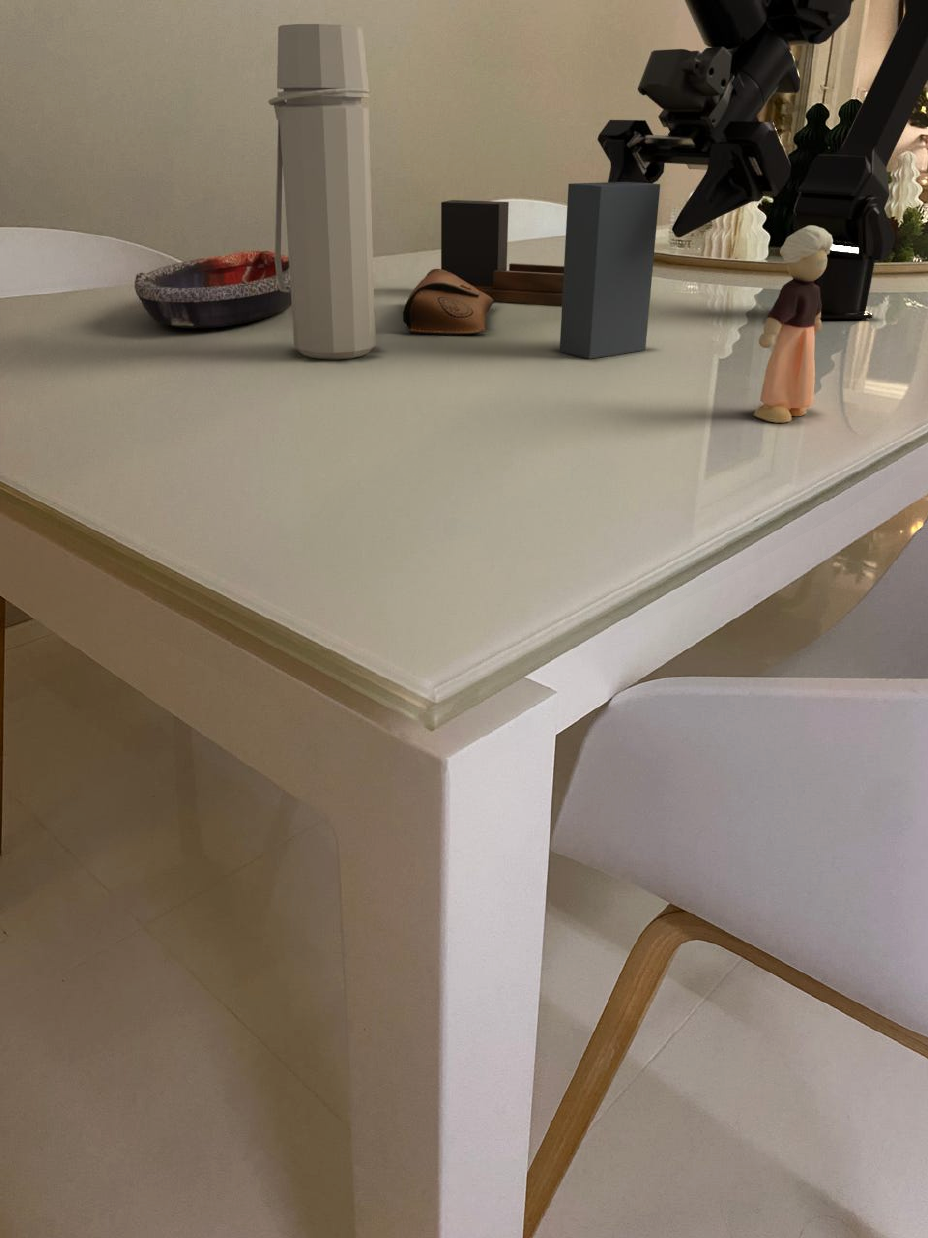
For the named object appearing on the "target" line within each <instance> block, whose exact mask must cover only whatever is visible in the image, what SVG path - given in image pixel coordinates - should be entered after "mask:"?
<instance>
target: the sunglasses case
mask: <svg viewBox="0 0 928 1238" xmlns="http://www.w3.org/2000/svg"><path fill="white" fill-rule="evenodd" d="M493 304H494V301H493V299H492V298H491V297H490V296H488V295H487V294H485V293H483V292H481V291H479V290H477V289H476V288H475V287H473V286H472V285H470V284H468V283H466V282H465V281H463V280H462V279H460V278H459V277H458V276H456V275H454V274H452V273H450V272H447V271H445V270H442V269H441V268H433V269H431V270H430V271H428V273H427V274H426V275H425V277H424V278H423V279H422V280H421V281H420V282H418V284H417V285H416V286H415V287H414V289H413V290H412V291H411V293H410V294H409V296H408V298H407V300H406V302H405V304H404V307H403V310H402V322H403V323H404V325H405V326H406V327H407V329H408V330H409V331H410V332H412V333H416V334H425V335H433V336H434V335H435V336H460V335H475V334H481V333H485V332H486V327H487V326H486V315H487V313H488V311H489V310H490V309H491V307H492V306H493Z"/></svg>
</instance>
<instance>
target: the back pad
mask: <svg viewBox="0 0 928 1238" xmlns="http://www.w3.org/2000/svg"><path fill="white" fill-rule="evenodd" d="M567 184H568V187H567V205H566V208H567V209H566V222H565V242H564V258H563V259H564V261H563V266H564V277H563V296H562V306H561V317H560V318H561V319H560V333H559V335H560V336H559V352H562V353H565V354H567V355H568V354H569V355H573V356H576V357H580V358H584V359H587V360H588V359H589V360H591V359H598V358H599V359H600V358H604V357H612V356H617V355H623V354H629V353H636V352H642V351H646V347H647V336H648V327H649V324H648V323H649V316H650V315H649V314H650V303H651V293H652V292H651V291H652V281H653V270H654V260H655V248H656V236H657V226H658V217H659V216H658V214H659V205H660V195H661V184H660V183H653V184H651V183H638V182H608V181H607V182H606V181H605V182H573V183H567Z"/></svg>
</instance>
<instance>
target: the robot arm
mask: <svg viewBox="0 0 928 1238" xmlns="http://www.w3.org/2000/svg"><path fill="white" fill-rule="evenodd" d="M854 1H855V0H684V3H685V5H686V6H687V9H688V11H689V13H690V15H691V19H692V21H693V22H694V24H695V27H696V28H697V32H698V33H699V36H700V37H701V39H702V42H703V44H704V45H705V46H706V48H705V49H703V51H702V52H701V51H699V50H688V49H685V48H672V49H670V48H669V49H656V50H655V49H654V50H652V51H651V52H650V55H649V57H648V60H647V63H646V64H645V68H644V70H643V73H642V75H641V78H640V81H639V84H638V86H637V91H638V93H639V94H640V95H641V96H646V97H647V98H649V99H650V100H651V101H652V102H653V103H655V104H656V105H657V106H658V107H660V108H661V109H662V110H661V112H660V113H659V115H658V117H657V118H658V119H659V121H660V123H661V125H662V127H663V128H667V129H668V131H669V132H668V133H667V135H663V134H662V135H661V134H660V135H659V134H658V135H656V134H654V133H653V131H652V129H651V128H650V126H649V124H648V122H647V121H646V120H645V119H609V120H608V122H607V123H606V125H605V126H604V127H603V128H602V130H601V131H600V133H599V134H598V136H597V141H598V144H599V145H600V147H601V148H602V150H603V152H604V154H605V155H606V158H607V159H608V161H609V164H610V169H609V175H608V179H607V182H638V183H651V184H655V183H656V182H658V181H659V180H660V178H661V177H662V175H663V174H664V172H665V164H674V165H675V164H676V165H686V166H687V168H688V169H689V170H701V171H702V170H703V171H706V172H705V174H704V175H703V176H702V178H701V180H700V181H699V183H698V184H697V185H696V187H695V189H694V191H693V192H692V194H690V196H689V198H688V200H687V201H686V203H685V204H684V206H683V207H682V209H681V210H680V212H679V213H678V216H677V217H676V220H675V221H674V223H673V225H672V227H671V231H672V233H673V235H674V237H675V238H679V239H680V238H682V237H685V236H687V235H688V234H690V233H691V232H694V231H696V230H698V229H699V228H701V227H703V226H705V225H707V224H708V223H711V222H712V221H715V220H717V219H718V218H720V217H722V216H724V215H727V214H729V213H731V212H733V211H735V210H737V209H740V208H741V207H743V206H746V205H748V204H750V203H753V202H755V203H757V202H760V201H762V200H763V198H764V196H765V197H767V196H768V197H777V196H778V194H779V193H780V192H781V190H782V189H783V187H784V186H785V185H786V183H787V182H788V180H789V179H790V176H791V169H792V165H791V162H790V160H789V157H788V155H787V153H786V150H785V148H784V145H783V143H782V141H781V138H780V136H779V133H778V131H777V129H776V127H775V124H774V122H773V121H760V120H759V117H758V116H759V115H760V113H761V112H762V111H763V109H764V108H765V106H766V105H767V104H768V102H769V101H770V99H771V98H772V97H773V95H774V94H797V93H798V92H799V91H800V89H801V77H800V74H799V65H800V63H799V60H798V59H795V58H794V55H793V52H792V49H791V47H790V46H809V45H821V44H823V43H825V42H827V41H828V40H829V39H830V38H832V36H833V35H834V34H835V33H836V32H837V30H838V29H840V27H841V26H842V25H843V24H844V23H845V22H846V21H847V20H848V19H849V17H850V15H851V11H852V5H853V3H854ZM903 7H904V13H903V17H902V18H901V21H900V23H899V25H898V28H897V30H896V32H895V34H894V35H893V38H892V40H891V42H890V44H889V47H888V48H887V51H886V52H885V55H884V56H883V59H882V61H881V64H880V65H879V68H878V70H877V72H876V74H875V76H874V78H873V80H872V83H871V85H870V87H869V89H868V91H867V93H866V95H865V97H864V99H863V101H862V104H861V106H860V107H859V110H858V112H857V113H856V116H855V118H854V121H853V123H852V124H851V127H850V128H849V131H848V133H847V135H846V138H845V140H844V141H843V143H842V144H841V147H840V148H839V149H838V150H837V151H836V152H835V153H833V154H817V155H816V156H815V157H814V159H813V160H812V161H811V162H810V166H809V169H808V171H807V174H806V177H805V178H804V180H803V181H802V184H801V185H800V186H799V187H798V188H797V193H799V195H798V196H797V199H796V202H795V204H794V207H793V214H792V215H793V229H794V231H793V232H794V233H795V232H797V231H798V230H800V229H803V228H804V227H807V226H817V227H820V228H823V229H825V230H826V231H827V232H828V233H829V234H830V235H831V236H832V239H833V243H840V244H848V245H857V247H855V246H853V247H852V246H846V245H845V246H844V245H836V244H833V247H832V249H831V250H830V253H829V254H827V266H826V269H825V271H824V272H823V274H822V275H821V276H820V277H819V278H817V279H816V280H814V281H813V282H814V284H815V285H818V286H819V287H820V298H821V305H822V308H821V317H820V320H859V319H861V320H862V319H864V320H865V319H867V320H868V319H869V320H870V319H873V317H874V314H873V313H872V312H868V311H867V308H868V307H867V306H868V301H869V296H870V290H871V284H872V279H873V273H874V270H875V269H874V268H875V263H876V261H877V262H878V261H879V262H880V261H884V260H885V259H889V258H890V255H891V252H892V251H893V247H894V245H895V242H896V235H895V233H894V230H893V227H892V225H891V222H890V219H889V216H888V214H887V212H886V206H887V203H888V201H889V199H890V187H889V186H890V185H889V178H888V169H887V168H888V167H887V166H888V164H889V162H890V160H891V158H892V155H894V154H893V153H894V151H895V149H896V147H897V145H898V143H899V141H900V139H901V137H902V135H903V133H904V131H905V129H906V126H907V124H908V122H909V120H910V118H911V116H912V114H913V112H914V110H915V109H916V106H917V103H918V101H919V100H920V97H921V96H922V94H923V91H924V89H925V87H926V85H927V83H928V0H903Z"/></svg>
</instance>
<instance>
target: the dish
mask: <svg viewBox="0 0 928 1238" xmlns="http://www.w3.org/2000/svg"><path fill="white" fill-rule="evenodd" d="M281 265H282V273H283V279H284V283H285V286H286V289H289V287H290V270H289V255H284V254H282V253H281ZM134 290H135V293H136V296H137V297H138V298H139V300H140V302H141V303H142V306H143V308H144V310H145V311H146V312H147V314H148V315H149V316H150V317H151V318H152V319H153V320H154V321H156V322H158V323H160V324H164V325H167V326H171V327H174V328H180V329H182V328H183V329H212V328H213V329H215V328H221V327H223V328H224V327H230V326H236V325H241V324H246V323H251V322H255V321H259V320H263V319H266V318H269V317H272V316H274V315H277V314H279V313H281V312H282V311H284V310H286V309H288V308H289V307H290V306H292V302H291V292H282V291H280V288H279V284H278V280H277V274H276V266H275V251H274V252H273V251H270V250H247V251H239V252H233V253H228V254H223V255H216V256H210V257H209V256H208V257H202V258H196V259H190V260H185V261H181V262H176V263H173V264H169V265H166V266H162V267H158V268H155V269H153V270H151V271H148V272H139V273H137V274H136V275H135V279H134Z"/></svg>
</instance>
